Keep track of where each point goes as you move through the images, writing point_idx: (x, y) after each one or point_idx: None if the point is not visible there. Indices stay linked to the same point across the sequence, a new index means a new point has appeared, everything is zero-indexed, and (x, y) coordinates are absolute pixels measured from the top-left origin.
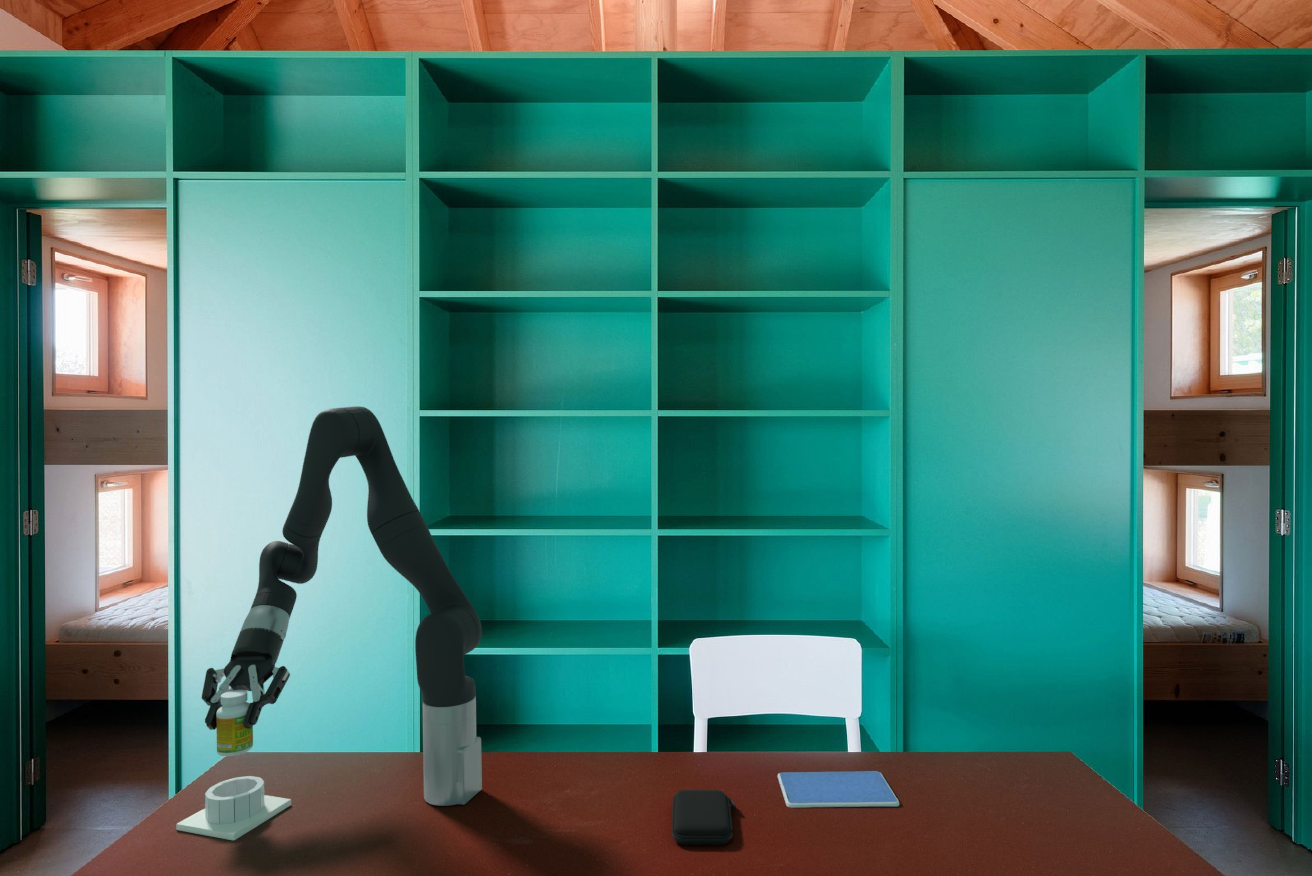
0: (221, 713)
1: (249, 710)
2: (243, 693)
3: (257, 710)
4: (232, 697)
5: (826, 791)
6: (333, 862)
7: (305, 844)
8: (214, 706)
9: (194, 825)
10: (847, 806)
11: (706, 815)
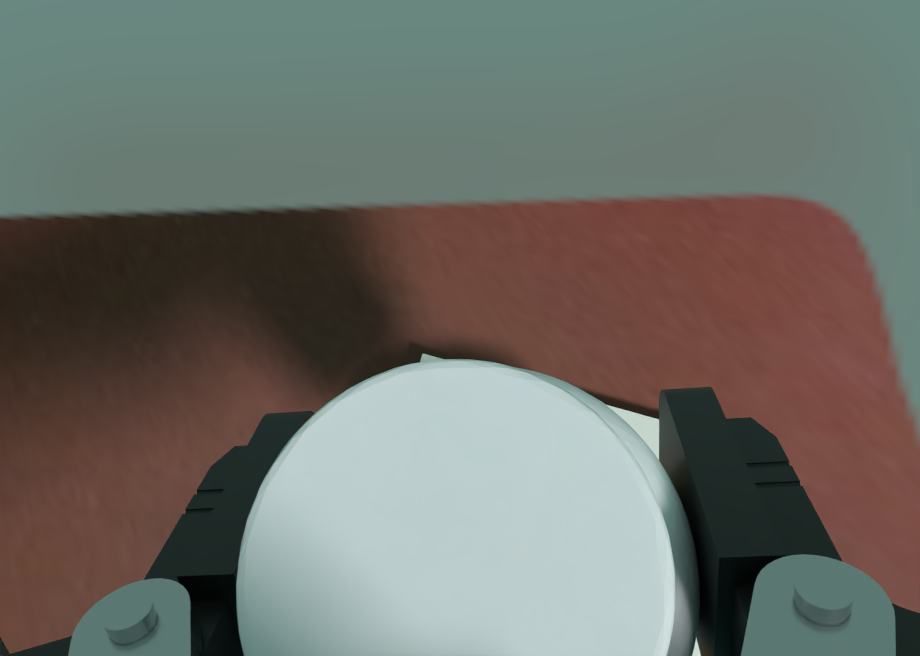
0: (540, 376)
1: (244, 497)
2: (274, 573)
3: (172, 545)
4: (376, 380)
5: None
6: (22, 231)
7: (144, 336)
8: (745, 519)
9: (645, 426)
10: None
11: None
